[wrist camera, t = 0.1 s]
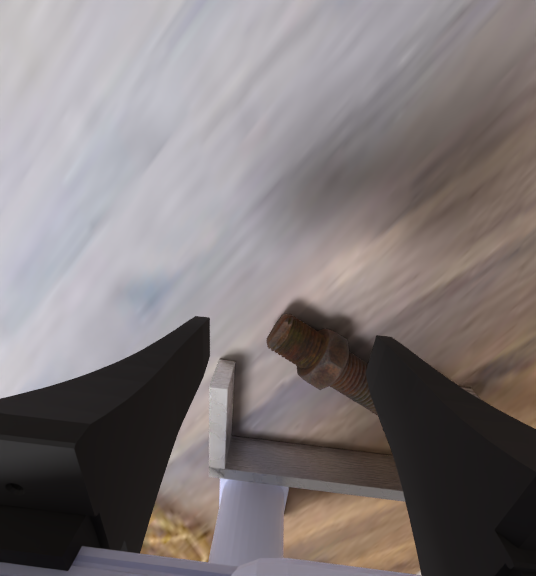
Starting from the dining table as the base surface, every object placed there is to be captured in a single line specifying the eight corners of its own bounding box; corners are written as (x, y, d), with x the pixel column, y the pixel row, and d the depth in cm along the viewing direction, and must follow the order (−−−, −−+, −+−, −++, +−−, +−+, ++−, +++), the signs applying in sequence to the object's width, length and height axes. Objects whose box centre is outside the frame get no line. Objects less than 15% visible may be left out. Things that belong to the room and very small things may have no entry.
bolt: (283, 300, 24) (409, 382, 26) (253, 349, 23) (385, 430, 26) (303, 301, 18) (463, 405, 21) (265, 365, 18) (434, 467, 20)
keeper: (429, 469, 29) (446, 506, 26) (217, 443, 29) (209, 476, 26) (470, 388, 24) (499, 421, 21) (219, 359, 25) (209, 387, 22)
